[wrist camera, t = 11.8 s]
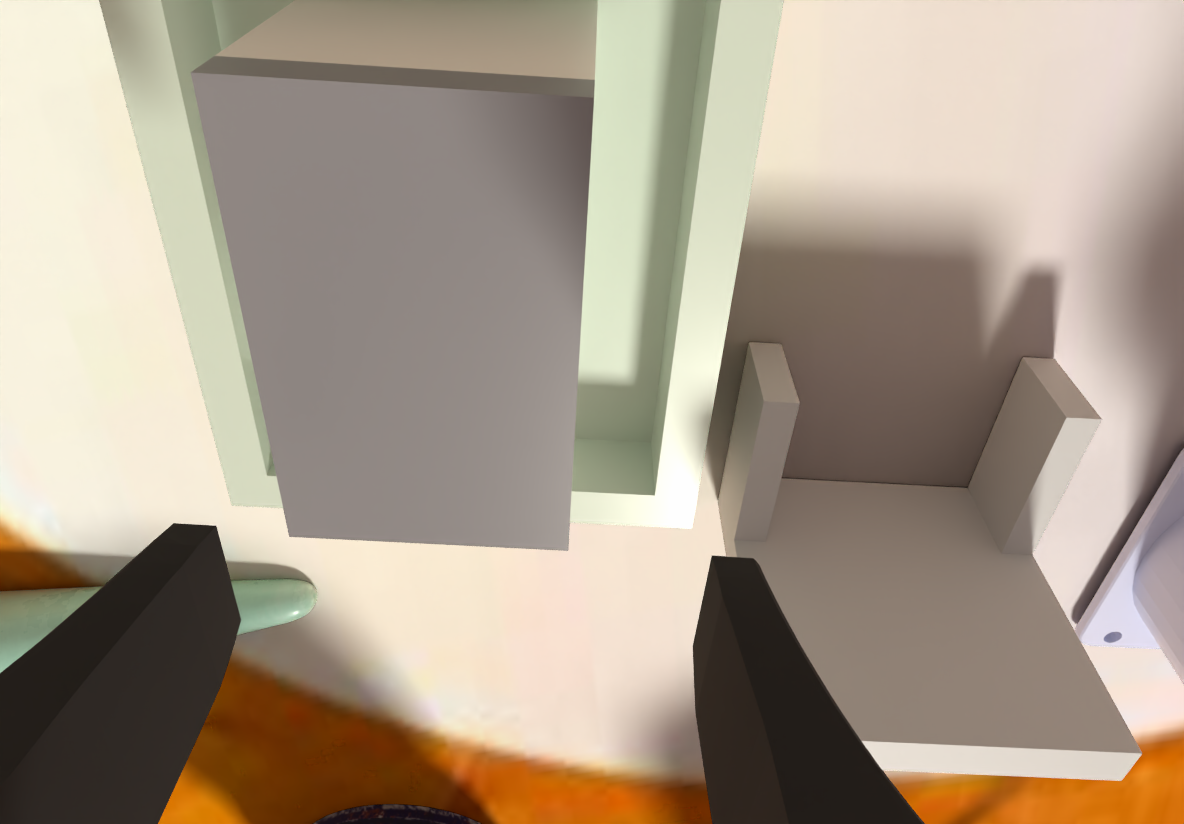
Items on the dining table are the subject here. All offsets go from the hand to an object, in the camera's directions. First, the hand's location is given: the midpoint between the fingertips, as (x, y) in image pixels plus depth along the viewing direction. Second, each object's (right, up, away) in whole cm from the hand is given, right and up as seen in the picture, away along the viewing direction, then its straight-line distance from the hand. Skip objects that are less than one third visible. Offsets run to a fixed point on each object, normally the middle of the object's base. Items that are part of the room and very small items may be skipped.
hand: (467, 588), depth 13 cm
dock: (+9, +2, +10) cm, 14 cm away
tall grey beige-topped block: (-1, +7, +5) cm, 9 cm away
